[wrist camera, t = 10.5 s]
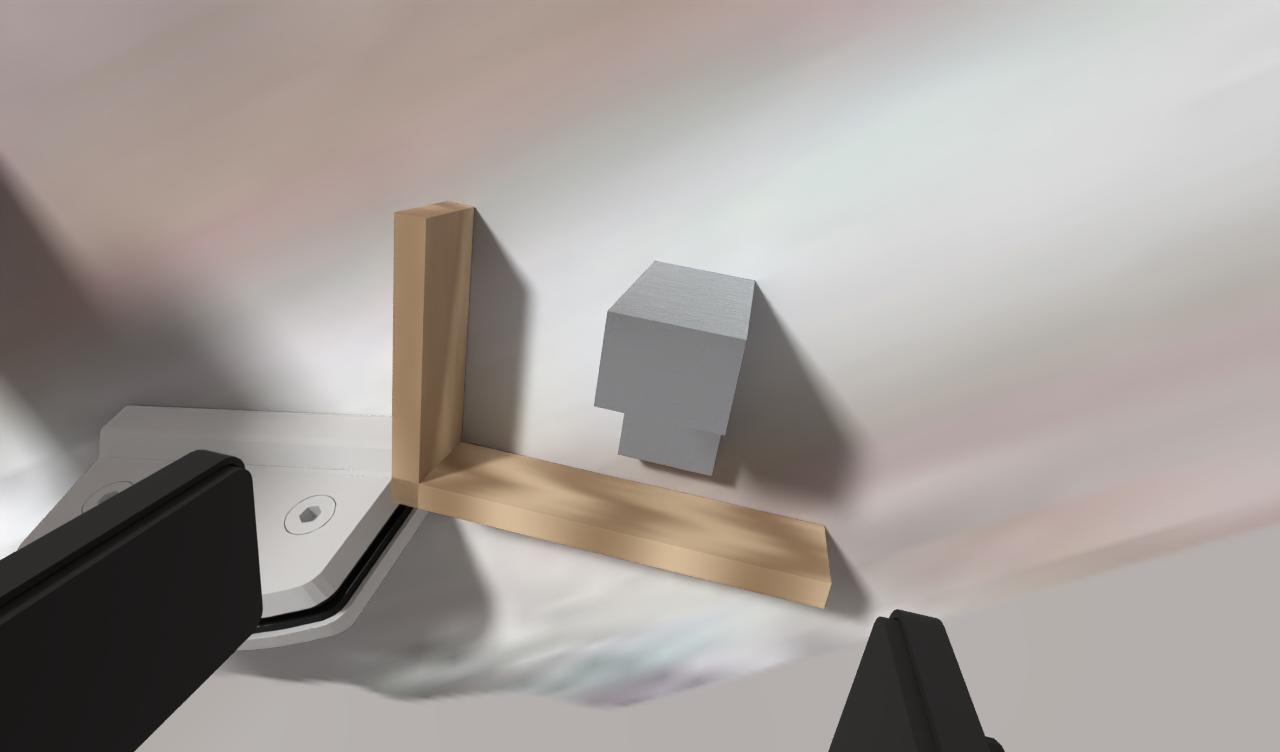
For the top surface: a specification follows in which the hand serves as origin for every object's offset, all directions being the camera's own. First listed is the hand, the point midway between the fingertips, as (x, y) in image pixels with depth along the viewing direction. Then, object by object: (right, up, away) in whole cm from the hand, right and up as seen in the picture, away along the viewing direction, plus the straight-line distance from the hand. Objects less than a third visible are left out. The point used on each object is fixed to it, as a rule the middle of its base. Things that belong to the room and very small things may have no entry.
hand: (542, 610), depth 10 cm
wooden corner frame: (+1, +3, +18) cm, 19 cm away
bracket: (+3, +4, +18) cm, 18 cm away
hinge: (-17, -2, +24) cm, 30 cm away
